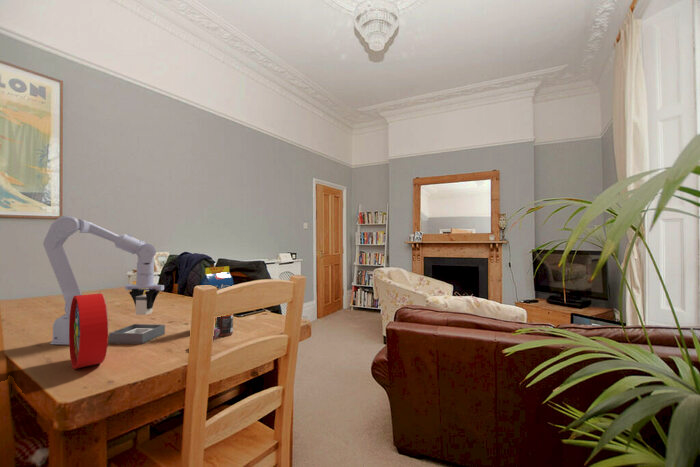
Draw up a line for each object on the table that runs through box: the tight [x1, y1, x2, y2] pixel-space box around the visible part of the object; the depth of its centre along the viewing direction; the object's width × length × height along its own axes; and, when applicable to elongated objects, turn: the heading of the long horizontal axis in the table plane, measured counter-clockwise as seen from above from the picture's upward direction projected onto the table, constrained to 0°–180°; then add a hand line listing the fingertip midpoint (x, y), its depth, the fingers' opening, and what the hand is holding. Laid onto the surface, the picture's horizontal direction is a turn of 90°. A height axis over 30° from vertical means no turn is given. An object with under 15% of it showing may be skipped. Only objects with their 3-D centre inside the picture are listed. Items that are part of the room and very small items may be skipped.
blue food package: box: [199, 265, 235, 328], centre depth 130 cm, size 6×12×25 cm, turn 153°
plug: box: [134, 294, 154, 316], centre depth 123 cm, size 4×4×7 cm
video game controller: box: [213, 327, 220, 341], centre depth 107 cm, size 10×5×7 cm, turn 169°
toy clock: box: [68, 292, 109, 370], centre depth 89 cm, size 20×6×20 cm, turn 48°
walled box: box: [108, 323, 166, 345], centre depth 113 cm, size 12×12×4 cm
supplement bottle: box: [216, 313, 234, 337], centre depth 119 cm, size 6×6×11 cm
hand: (144, 308), depth 123 cm, fingers closed on plug, 4 cm apart
